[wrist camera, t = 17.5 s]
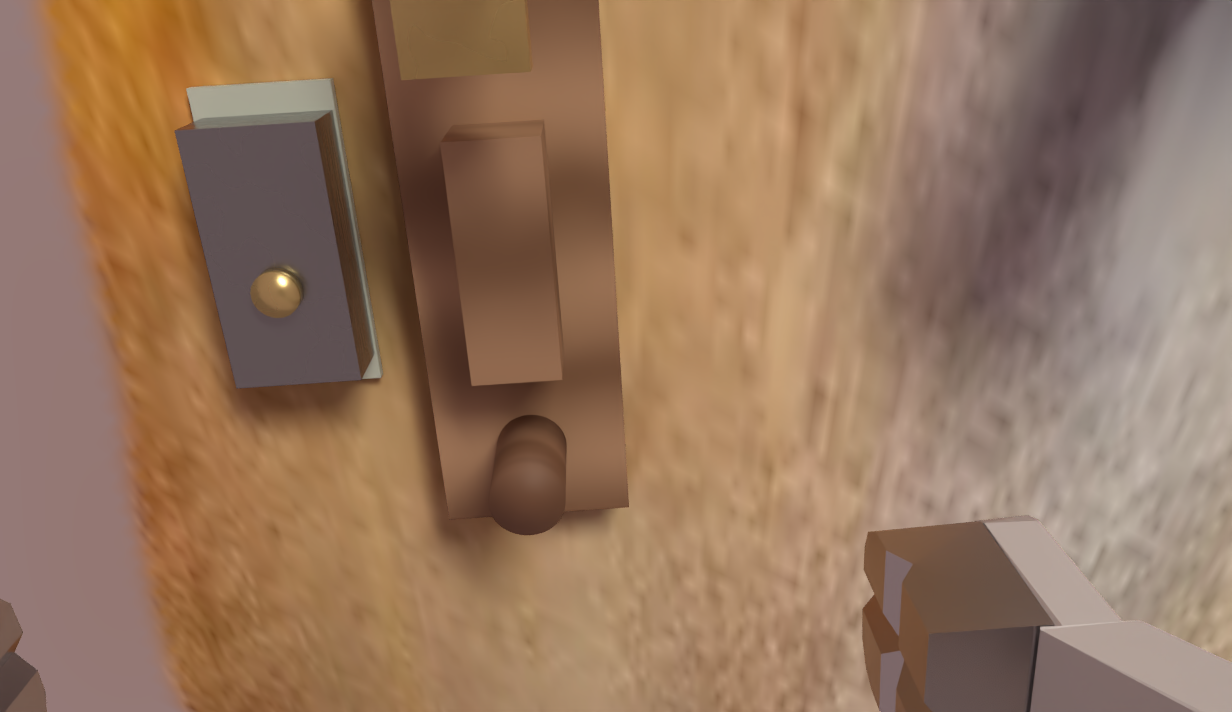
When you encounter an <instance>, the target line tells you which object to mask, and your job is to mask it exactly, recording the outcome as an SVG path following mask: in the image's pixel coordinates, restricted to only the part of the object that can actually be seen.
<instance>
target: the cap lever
mask: <svg viewBox="0 0 1232 712" xmlns="http://www.w3.org/2000/svg"><path fill="white" fill-rule="evenodd" d="M390 6H391V13H392V20H393V27H394V34H395V41H396V48H397V55H398V62H399V69H400V76H401V80H412V79H427V78H443V77H459V76H474V75H490V74H506V73H522V72H531V70H532V67H533V62H532V51H531V40H530V28H529V17H528V6H527V0H390Z"/></svg>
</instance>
